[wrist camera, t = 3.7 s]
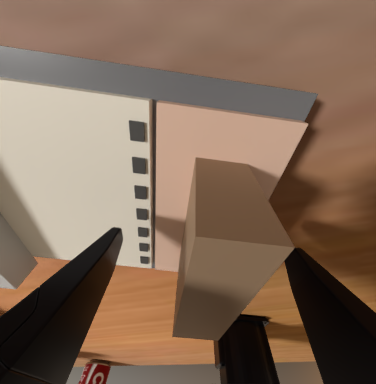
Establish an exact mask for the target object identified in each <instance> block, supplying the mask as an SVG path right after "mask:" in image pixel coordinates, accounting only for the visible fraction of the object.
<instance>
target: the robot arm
mask: <svg viewBox="0 0 376 384" xmlns="http://www.w3.org/2000/svg"><path fill="white" fill-rule="evenodd" d="M122 243H123V234H122V229H121V228H118V227H112V228H111V229H110V230H108V231H107V232H106V233H105V234H103V235H102V236H101V237H100V238H99V239H97V240H96V241H95V242H94V243H92V244H91V245H90V246H89V247H87V248H86V249H85V250H84V251H82V252H81V253H80V254H79V255H78V256H76V257H75V258H74V259H73V260H71V261H70V262H69V263H68V264H66V265H65V266H64V267H63V268H61V269H60V270H59V271H58V272H56V273H55V274H54V275H53V276H52V277H50V278H49V279H48V280H47V281H45V282H44V283H43V284H42V285H40V288H39V287H38V288H37V289H35V290H34V291H33V292H32V293H30V294H29V295H28V296H27V297H25V298H24V299H23V300H22V301H20V302H19V303H18V304H16V305H15V306H14V307H13V308H11V309H10V310H9V311H7V312H6V313H5V314H3V315H2V316H0V384H66V382H67V379H68V377H69V374H70V372H71V370H72V368H73V365H74V363H75V361H76V358H77V356H78V354H79V351H80V349H81V347H82V344H83V342H84V340H85V337H86V335H87V333H88V330H89V328H90V326H91V323H92V321H93V319H94V316H95V314H96V312H97V309H98V307H99V305H100V302H101V300H102V298H103V295H104V293H105V291H106V288H107V286H108V284H109V281H110V279H111V277H112V274H113V272H114V269H115V266H116V262H117V259H118V256H119V253H120V249H121V246H122ZM284 261H285V265H286V269H287V273H288V278H289V282H290V286H291V289H292V293H293V296H294V299H295V301H296V304H297V307H298V310H299V313H300V316H301V319H302V322H303V325H304V328H305V331H306V333H307V336H308V339H309V342H310V345H311V348H312V351H313V354H314V357H315V360H316V362H317V365H318V368H319V371H320V374H321V377H322V380H323V383H324V384H376V313H375V312H374V311H373V310H372V309H371V308H369V307H368V306H367V305H366V304H365V303H364V302H362V301H361V300H360V299H359V298H358V297H357V296H356V295H354V294H353V293H352V292H351V291H350V290H349V289H347V288H346V287H345V286H344V285H343V284H342V283H340V282H339V281H338V280H337V279H336V278H335V277H334V276H332V275H331V274H330V273H329V272H328V271H327V270H325V269H324V268H323V267H322V266H321V265H320V264H319V263H317V262H316V261H315V260H314V259H313V258H312V257H310V256H309V255H308V254H307V253H306V252H305V251H303V250H302V249H301V248H296V247H295V248H294V250H293V251H292V252H291V253H290V254H289V256H288V257H287V258H286V259H285V260H284ZM267 324H269V321H268V319H267V318H259V317H248V316H238V317H237V319H236V320H235V321H234V322H233V323H232V325H231V326H230V327H229V328H228V329H227V331H226V332H225V333H224V334H223V335H222V337H221V338H220V339H219V340H218V341H216V340H214V354H215V366H216V368H217V369H220V380H221V384H280V382H279V379H278V375H277V371H276V368H275V364H274V360H273V357H272V353H271V349H270V346H269V342H268V338H267V335H266V331H265V326H266V325H267Z"/></svg>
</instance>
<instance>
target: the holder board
mask: <svg viewBox="0 0 376 384" xmlns="http://www.w3.org/2000/svg"><path fill="white" fill-rule="evenodd" d="M0 77H3V78H10V79H17V80H24V81H31V82H38V83H45V84H52V85H59V86H66V87H73V88H80V89H87V90H94V91H101V92H108V93H115V94H121V95H128V96H135V97H142V98H149V99H152V143H153V264H152V268H155V215H156V107H157V101H159V100H162V101H169V102H176V103H183V104H190V105H197V106H204V107H210V108H217V109H224V110H231V111H238V112H245V113H252V114H259V115H266V116H273V117H280V118H287V119H294V120H301V121H303V122H304V121H305V119H306V117H307V115H308V113H309V111H310V109H311V107H312V105H313V103H314V101H315V99H316V97H317V95H318V94H316V93H310V92H303V91H297V90H290V89H284V88H277V87H270V86H264V85H257V84H251V83H244V82H237V81H231V80H224V79H218V78H211V77H204V76H198V75H191V74H184V73H178V72H171V71H165V70H158V69H151V68H145V67H138V66H132V65H125V64H118V63H112V62H105V61H99V60H92V59H85V58H79V57H72V56H66V55H59V54H52V53H46V52H39V51H32V50H26V49H19V48H13V47H6V46H0ZM37 264H38V263H37V261H36V260H35V259H34V257H33V256H32V255H31V253H30V252H29V251H28V249H27V248H26V247H25V245H24V244H23V243H22V241H21V240H20V238H19V237H18V236H17V234H16V233H15V232H14V230H13V229H12V228H11V226H10V225H9V224H8V222H7V221H6V220H5V218H4V217H3V216H2V214H1V213H0V288H9V289H17V288H18V287H19V285H20V284H21V283H22V282H23V281H24V279H25V278H26V277H27V276H28V275H29V273H30V272H31V271H32V270H33V269H34V267H35V266H36V265H37Z"/></svg>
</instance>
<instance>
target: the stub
mask: <svg viewBox="0 0 376 384" xmlns="http://www.w3.org/2000/svg"><path fill="white" fill-rule="evenodd" d="M307 126H308V123H305V122H303V121H301V120H294V119H287V118H280V117H273V116H266V115H259V114H252V113H245V112H238V111H231V110H224V109H217V108H210V107H204V106H197V105H190V104H183V103H176V102H169V101H162V100H159V101H157V107H156V215H155V270H165V271H175V272H178V280H177V291H176V302H175V314H174V325H173V336H172V337H182V338H193V339H205V340H216V341H218V340H219V339H220V338H221V337H222V335H223V334H224V333H225V332H226V331H227V329H228V328H229V327H230V326H231V325H232V323H233V322H234V321H235V320H236V319H237V317H238V316H239V315H240V314H241V312H242V311H243V310H244V309H245V308H246V306H247V305H248V304H249V303H250V302H251V300H252V299H253V298H254V297H255V296H256V294H257V293H258V292H259V291H260V289H261V288H262V287H263V286H264V285H265V283H266V282H267V281H268V280H269V279H270V277H271V276H272V275H273V274H274V273H275V271H276V270H277V269H278V268H279V266H280V265H281V264H282V263H283V262H284V260H285V259H286V258H287V257H288V256H289V254H290V253H291V252H292V251H293V250H294V248H295V247H294V245H293V243H292V241H291V240H290V238H289V236H288V234H287V233H286V231H285V229H284V227H283V226H282V224H281V222H280V220H279V219H278V217H277V215H276V213H275V212H274V210H273V208H272V206H271V205H270V203H269V201H268V200H269V198H270V196H271V195H272V193H273V191H274V189H275V187H276V185H277V183H278V181H279V179H280V177H281V176H282V174H283V172H284V170H285V168H286V166H287V164H288V162H289V160H290V158H291V157H292V155H293V153H294V151H295V149H296V147H297V145H298V143H299V141H300V139H301V137H302V136H303V134H304V132H305V130H306V128H307Z"/></svg>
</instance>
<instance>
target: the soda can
mask: <svg viewBox="0 0 376 384" xmlns="http://www.w3.org/2000/svg"><path fill="white" fill-rule="evenodd" d="M110 368H111V366H110V365H109V362H107V361H103V360H91V361H90V362H88V363H86V365H85V368H84V370H83V373H82V376H81V378H80V381H79V384H106V382H107V378H108V375H109V371H110Z"/></svg>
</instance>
